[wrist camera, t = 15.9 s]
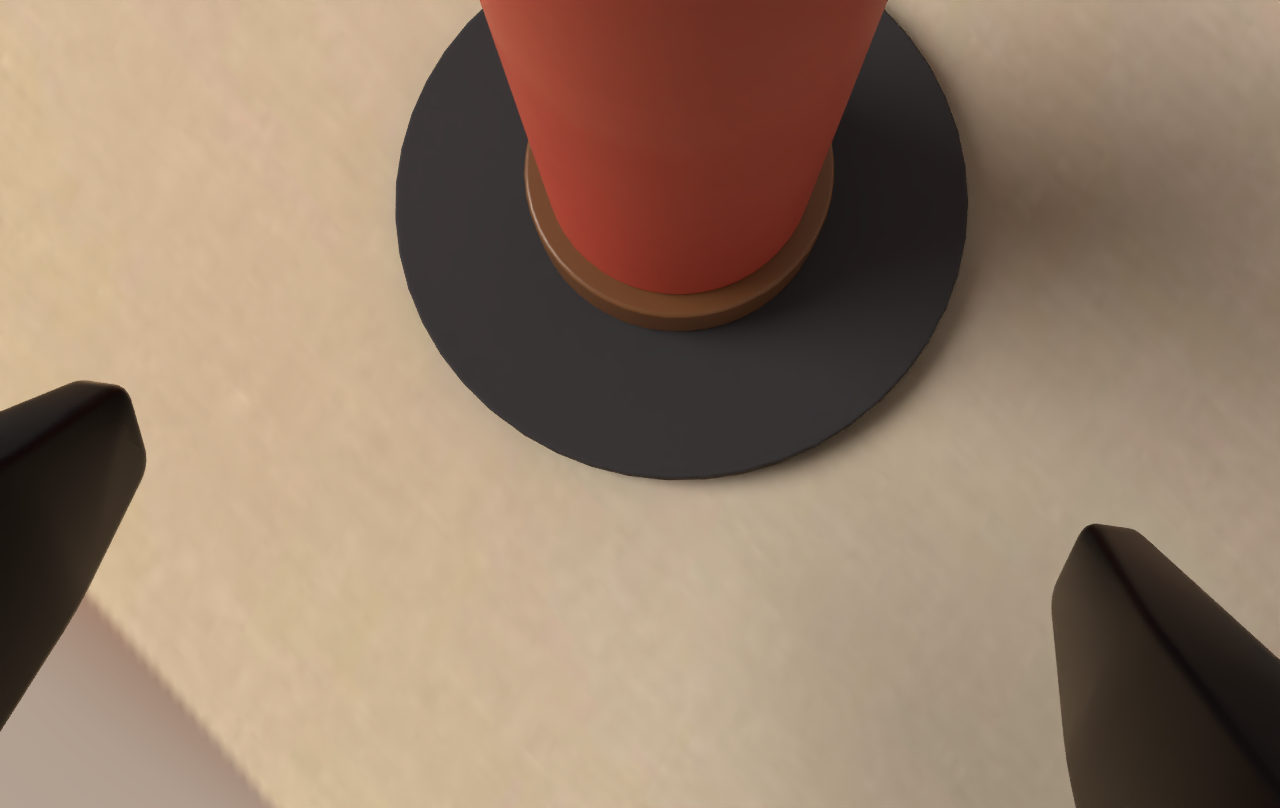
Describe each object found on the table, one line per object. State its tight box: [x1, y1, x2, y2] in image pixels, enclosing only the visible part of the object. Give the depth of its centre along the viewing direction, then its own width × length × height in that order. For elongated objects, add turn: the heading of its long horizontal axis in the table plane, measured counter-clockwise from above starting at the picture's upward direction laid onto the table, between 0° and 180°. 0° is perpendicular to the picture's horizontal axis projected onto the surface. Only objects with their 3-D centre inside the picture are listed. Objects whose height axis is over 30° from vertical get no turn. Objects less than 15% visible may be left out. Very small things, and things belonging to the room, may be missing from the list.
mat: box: [396, 9, 968, 480], centre depth 19 cm, size 11×11×1 cm
